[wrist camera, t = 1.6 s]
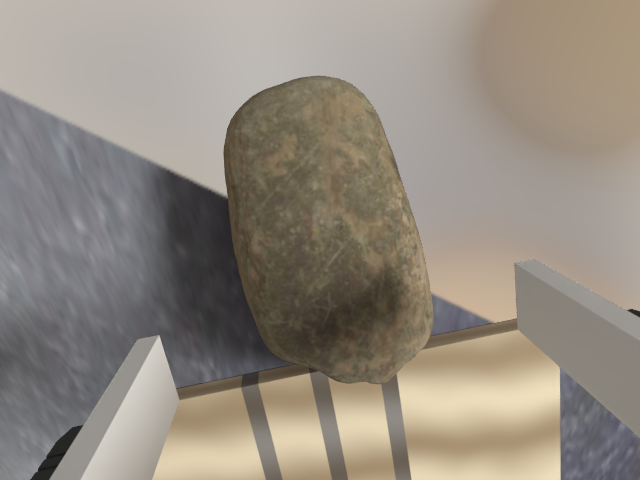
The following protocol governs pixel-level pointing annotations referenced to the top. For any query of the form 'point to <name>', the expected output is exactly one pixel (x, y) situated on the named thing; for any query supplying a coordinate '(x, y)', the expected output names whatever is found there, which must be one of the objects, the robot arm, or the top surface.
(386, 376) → the stone
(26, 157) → the top surface
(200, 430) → the board
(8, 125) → the top surface
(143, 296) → the top surface
